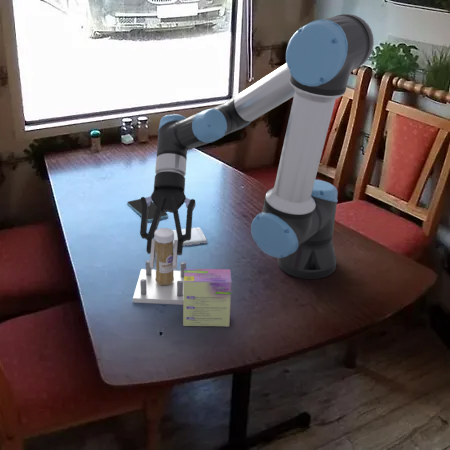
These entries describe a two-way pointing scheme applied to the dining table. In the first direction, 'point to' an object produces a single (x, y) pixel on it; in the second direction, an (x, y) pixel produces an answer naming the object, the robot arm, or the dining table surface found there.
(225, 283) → the box
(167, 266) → the sprinkles bottle
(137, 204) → the smartphone
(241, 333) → the dining table surface
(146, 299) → the pin tray
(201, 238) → the hard drive
